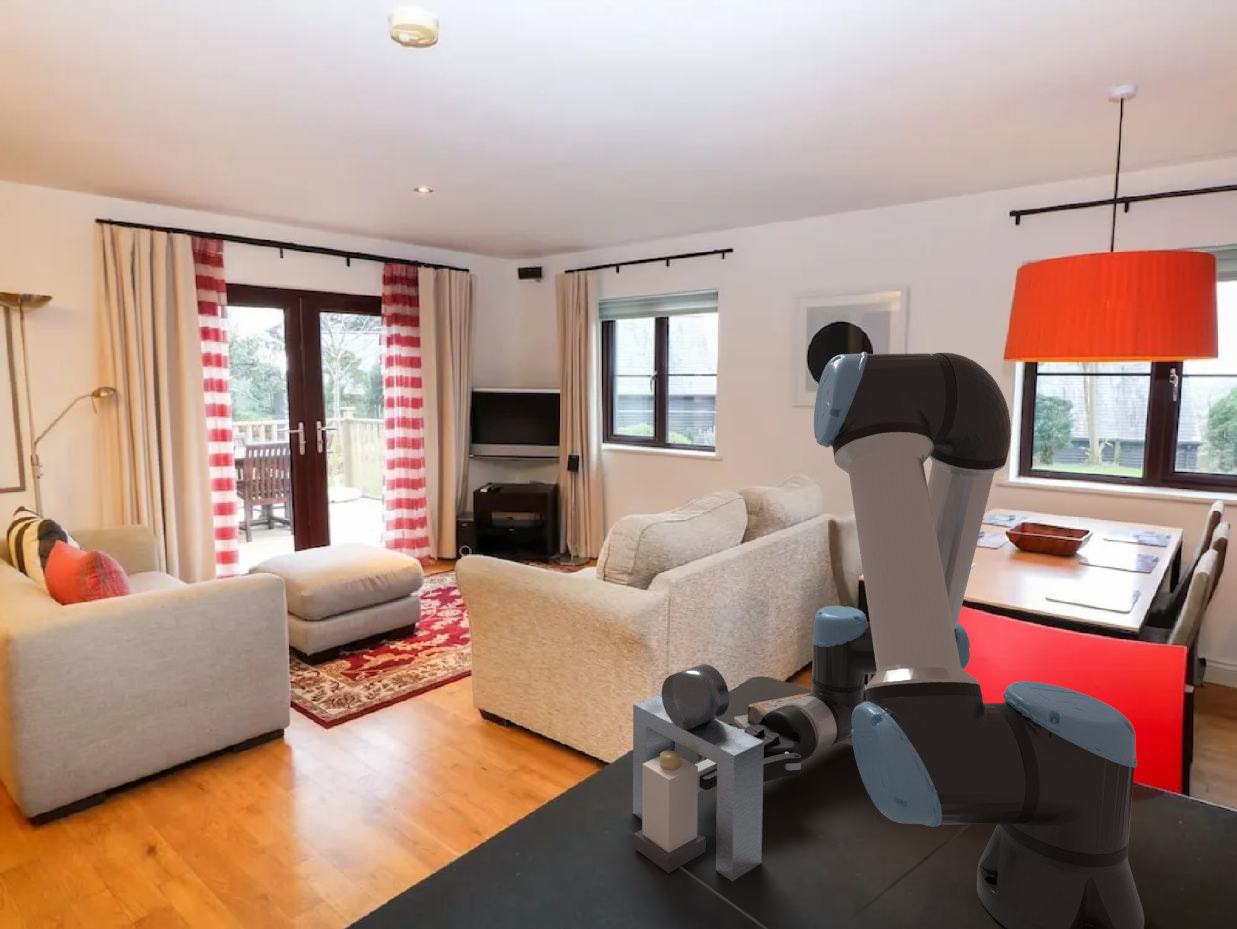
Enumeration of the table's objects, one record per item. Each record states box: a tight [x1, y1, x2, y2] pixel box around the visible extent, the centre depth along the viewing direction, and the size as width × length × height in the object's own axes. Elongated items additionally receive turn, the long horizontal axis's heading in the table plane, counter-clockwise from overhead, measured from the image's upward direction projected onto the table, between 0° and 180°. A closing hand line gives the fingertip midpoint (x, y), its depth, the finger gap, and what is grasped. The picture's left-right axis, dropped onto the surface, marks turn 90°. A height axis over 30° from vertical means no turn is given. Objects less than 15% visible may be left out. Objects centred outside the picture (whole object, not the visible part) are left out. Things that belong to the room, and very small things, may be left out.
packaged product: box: [733, 691, 812, 730], centre depth 119 cm, size 18×5×10 cm
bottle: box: [633, 750, 707, 874], centre depth 87 cm, size 6×6×12 cm
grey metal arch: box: [632, 663, 764, 882], centre depth 89 cm, size 17×5×21 cm, turn 39°
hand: (675, 788), depth 89 cm, fingers closed
